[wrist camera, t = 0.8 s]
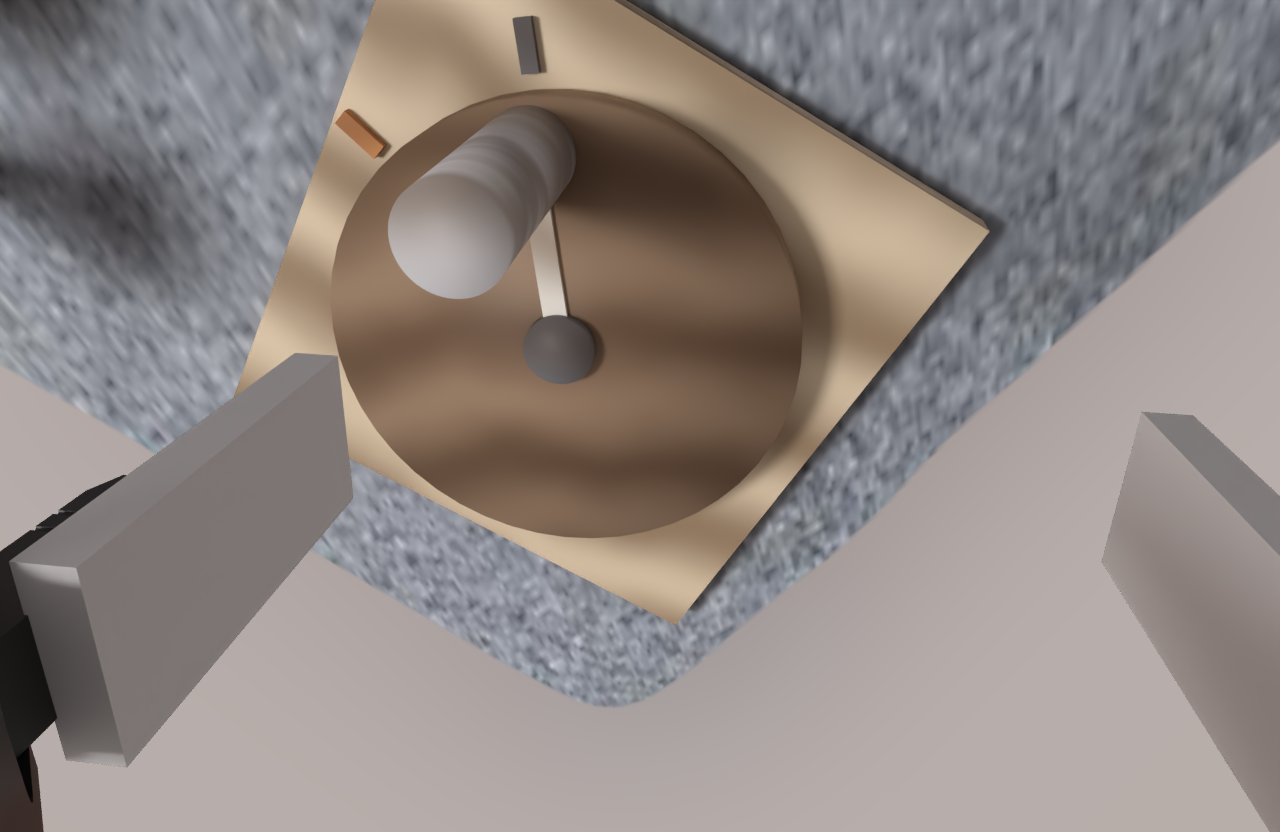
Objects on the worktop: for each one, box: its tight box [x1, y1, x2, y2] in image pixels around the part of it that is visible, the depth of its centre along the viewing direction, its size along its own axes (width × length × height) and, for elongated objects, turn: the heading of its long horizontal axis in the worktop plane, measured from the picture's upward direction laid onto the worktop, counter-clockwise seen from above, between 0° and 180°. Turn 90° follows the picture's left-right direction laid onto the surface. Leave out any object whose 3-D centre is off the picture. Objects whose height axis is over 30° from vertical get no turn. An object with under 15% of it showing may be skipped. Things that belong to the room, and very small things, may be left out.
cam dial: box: [331, 89, 802, 538], centre depth 35 cm, size 20×20×12 cm
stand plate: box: [234, 0, 990, 625], centre depth 41 cm, size 25×25×2 cm
